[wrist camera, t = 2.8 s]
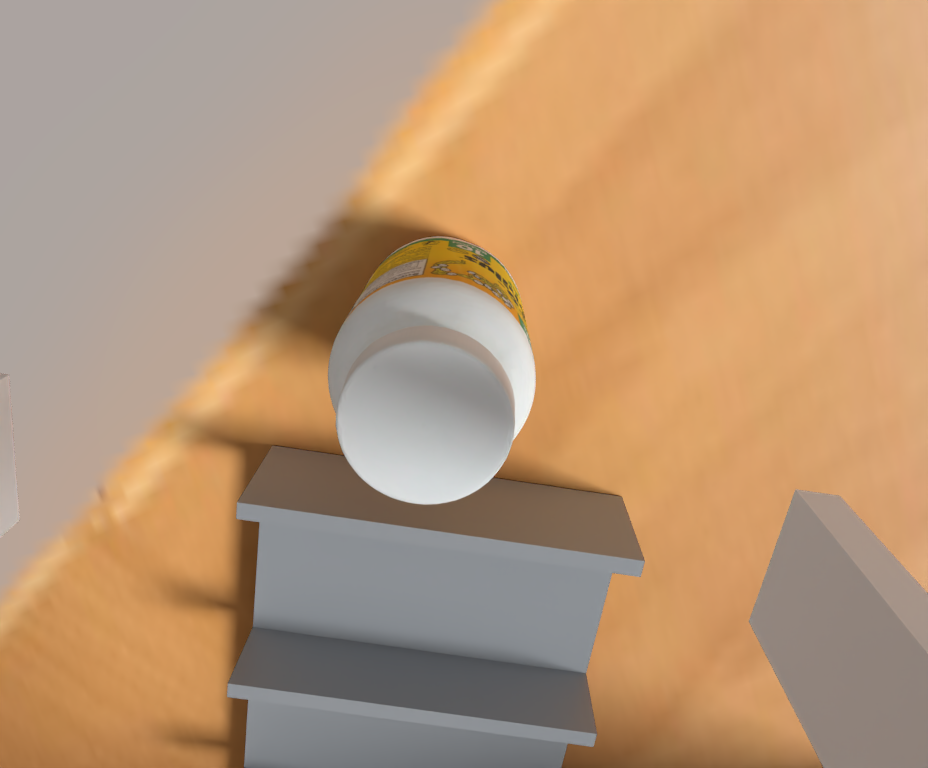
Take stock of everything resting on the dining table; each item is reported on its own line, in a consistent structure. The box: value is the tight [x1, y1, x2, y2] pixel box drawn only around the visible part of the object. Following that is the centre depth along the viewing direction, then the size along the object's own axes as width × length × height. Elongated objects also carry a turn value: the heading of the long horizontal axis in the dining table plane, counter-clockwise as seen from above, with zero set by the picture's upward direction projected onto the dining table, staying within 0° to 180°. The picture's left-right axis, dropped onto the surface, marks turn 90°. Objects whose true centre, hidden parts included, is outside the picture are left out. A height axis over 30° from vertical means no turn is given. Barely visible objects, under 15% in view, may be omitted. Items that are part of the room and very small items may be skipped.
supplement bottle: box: [328, 236, 536, 505], centre depth 21 cm, size 5×5×10 cm
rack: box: [227, 446, 645, 768], centre depth 29 cm, size 13×22×4 cm, turn 171°
